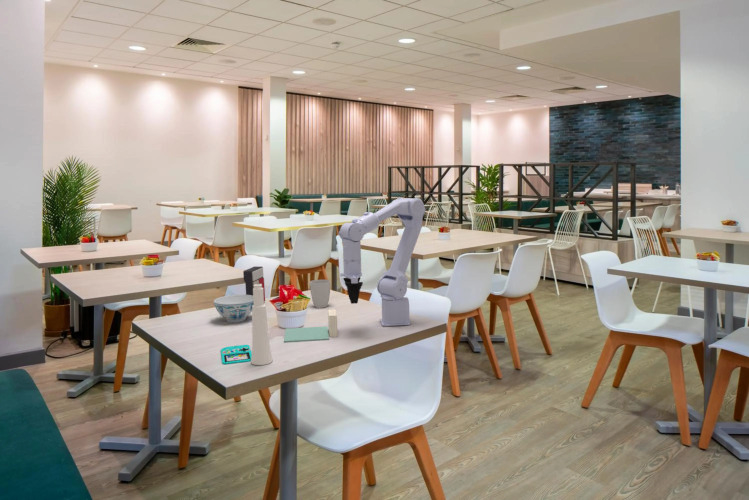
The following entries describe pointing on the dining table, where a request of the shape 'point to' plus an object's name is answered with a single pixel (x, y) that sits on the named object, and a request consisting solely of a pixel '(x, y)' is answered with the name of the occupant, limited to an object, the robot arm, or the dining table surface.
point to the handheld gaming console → (236, 354)
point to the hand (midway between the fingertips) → (353, 301)
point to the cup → (320, 292)
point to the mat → (306, 334)
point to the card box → (332, 323)
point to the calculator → (253, 279)
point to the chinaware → (234, 307)
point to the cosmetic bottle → (260, 329)
